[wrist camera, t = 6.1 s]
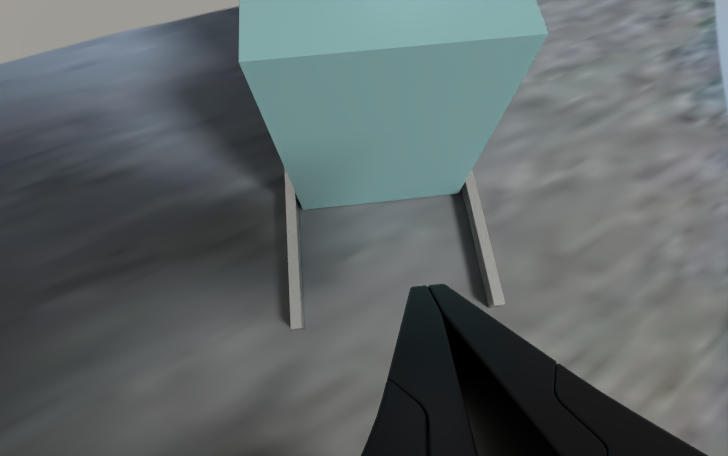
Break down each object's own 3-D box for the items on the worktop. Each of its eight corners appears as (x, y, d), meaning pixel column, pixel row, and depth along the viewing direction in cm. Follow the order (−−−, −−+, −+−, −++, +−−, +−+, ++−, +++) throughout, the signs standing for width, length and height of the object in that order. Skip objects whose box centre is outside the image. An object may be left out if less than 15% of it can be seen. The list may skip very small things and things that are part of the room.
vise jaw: (458, 193, 23) (548, 33, 11) (302, 209, 22) (238, 62, 11) (449, 153, 24) (524, -30, 12) (300, 168, 23) (239, -6, 12)
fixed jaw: (498, 306, 20) (662, 245, 9) (294, 330, 20) (201, 297, 9) (436, 43, 27) (486, -178, 16) (282, 57, 27) (221, -160, 16)
